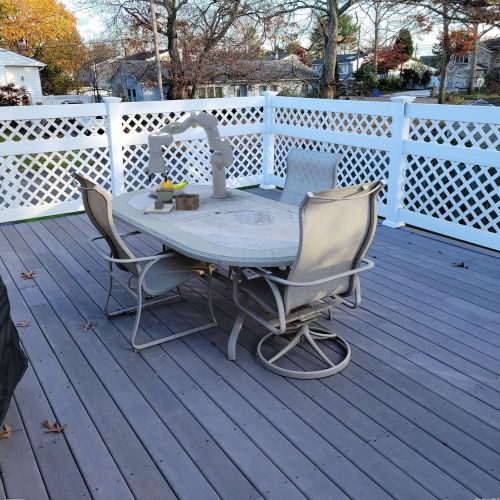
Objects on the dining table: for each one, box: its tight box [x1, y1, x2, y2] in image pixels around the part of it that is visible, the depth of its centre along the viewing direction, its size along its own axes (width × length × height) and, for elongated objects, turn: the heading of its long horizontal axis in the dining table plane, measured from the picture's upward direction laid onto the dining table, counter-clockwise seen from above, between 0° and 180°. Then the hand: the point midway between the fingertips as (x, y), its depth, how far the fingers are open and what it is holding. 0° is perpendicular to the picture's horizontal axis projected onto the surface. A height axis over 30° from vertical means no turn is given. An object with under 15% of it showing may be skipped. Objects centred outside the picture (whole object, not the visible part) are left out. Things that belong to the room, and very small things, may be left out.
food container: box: [156, 188, 174, 204], centre depth 327 cm, size 12×6×10 cm, turn 84°
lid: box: [144, 198, 175, 214], centre depth 307 cm, size 15×15×6 cm
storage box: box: [174, 193, 200, 211], centre depth 313 cm, size 13×13×8 cm
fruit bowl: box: [147, 179, 189, 198], centre depth 347 cm, size 28×27×11 cm
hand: (158, 181), depth 303 cm, fingers open, 9 cm apart
